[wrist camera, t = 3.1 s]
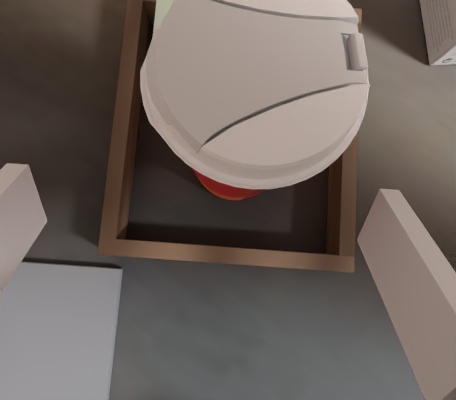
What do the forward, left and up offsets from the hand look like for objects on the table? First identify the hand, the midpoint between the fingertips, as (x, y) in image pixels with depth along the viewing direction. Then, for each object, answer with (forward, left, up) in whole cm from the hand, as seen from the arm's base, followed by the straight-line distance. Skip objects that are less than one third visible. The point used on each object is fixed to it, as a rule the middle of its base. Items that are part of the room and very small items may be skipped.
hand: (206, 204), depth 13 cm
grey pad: (+12, +10, -10) cm, 18 cm away
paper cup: (-1, -4, -11) cm, 11 cm away
